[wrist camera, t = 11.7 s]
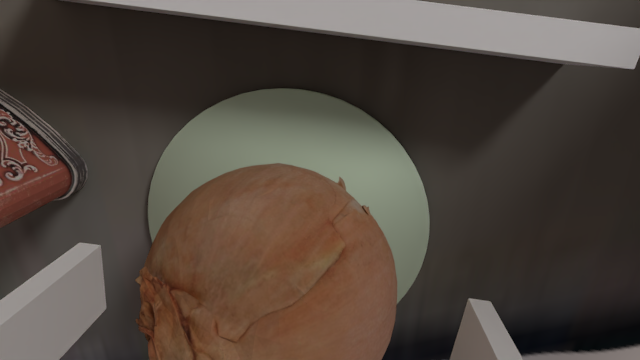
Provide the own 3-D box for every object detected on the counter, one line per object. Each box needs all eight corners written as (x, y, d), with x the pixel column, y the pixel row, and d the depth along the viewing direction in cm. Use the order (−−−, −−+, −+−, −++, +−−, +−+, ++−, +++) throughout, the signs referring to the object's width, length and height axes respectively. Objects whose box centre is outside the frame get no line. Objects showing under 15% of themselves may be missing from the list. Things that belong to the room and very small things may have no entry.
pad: (457, 108, 17) (460, 110, 16) (398, 353, 21) (399, 360, 21) (147, 69, 17) (142, 69, 16) (156, 321, 22) (152, 327, 21)
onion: (230, 215, 22) (38, 306, 14) (330, 101, 17) (122, 131, 9) (334, 351, 20) (191, 545, 12) (476, 269, 15) (399, 504, 7)
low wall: (574, 34, 16) (649, 29, 12) (564, 64, 16) (634, 69, 12) (50, -32, 16) (-42, -58, 12) (53, -1, 16) (-34, -16, 12)
